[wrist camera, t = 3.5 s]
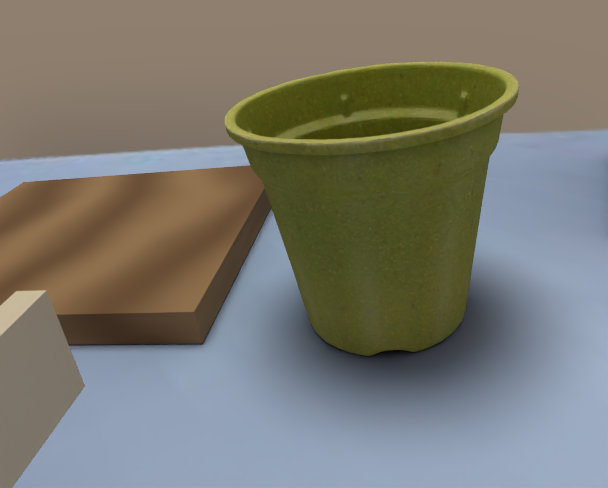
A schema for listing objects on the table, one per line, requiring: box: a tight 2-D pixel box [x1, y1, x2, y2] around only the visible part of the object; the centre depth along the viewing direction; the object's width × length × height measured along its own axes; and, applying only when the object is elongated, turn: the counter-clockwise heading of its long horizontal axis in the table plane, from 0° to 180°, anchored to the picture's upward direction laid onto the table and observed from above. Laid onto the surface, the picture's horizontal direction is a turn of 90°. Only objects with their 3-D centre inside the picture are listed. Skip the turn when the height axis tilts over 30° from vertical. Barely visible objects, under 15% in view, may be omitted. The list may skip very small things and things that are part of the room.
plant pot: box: [224, 62, 519, 356], centre depth 21 cm, size 9×9×9 cm
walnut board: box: [0, 166, 271, 345], centre depth 31 cm, size 18×16×2 cm
